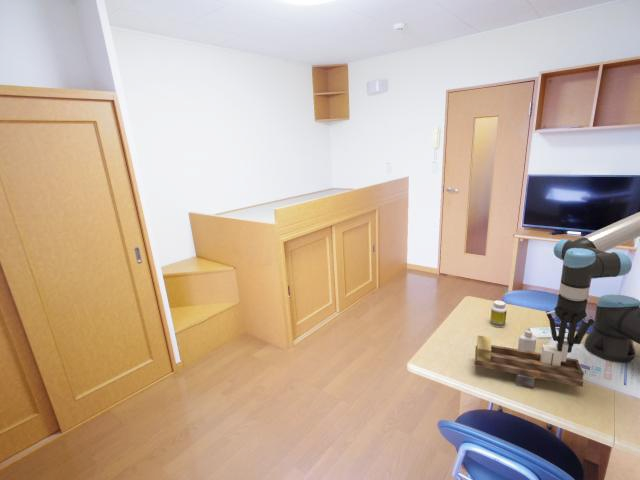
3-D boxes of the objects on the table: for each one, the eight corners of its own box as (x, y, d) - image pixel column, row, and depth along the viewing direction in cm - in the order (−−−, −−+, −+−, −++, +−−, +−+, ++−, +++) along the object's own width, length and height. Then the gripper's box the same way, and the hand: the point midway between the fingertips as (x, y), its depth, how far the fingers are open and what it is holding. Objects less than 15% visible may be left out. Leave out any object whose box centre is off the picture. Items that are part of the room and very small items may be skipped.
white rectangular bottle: (531, 360, 129) (534, 332, 126) (515, 353, 134) (518, 327, 130) (535, 355, 132) (539, 328, 129) (520, 349, 136) (523, 323, 133)
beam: (572, 376, 120) (577, 349, 117) (581, 399, 109) (587, 370, 106) (474, 357, 133) (476, 333, 130) (474, 376, 122) (476, 350, 119)
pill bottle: (506, 328, 151) (508, 306, 148) (491, 326, 153) (493, 305, 150) (503, 321, 157) (505, 300, 154) (488, 320, 159) (490, 299, 156)
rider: (556, 364, 117) (559, 346, 115) (559, 371, 113) (562, 353, 111) (540, 361, 119) (542, 344, 117) (541, 368, 115) (544, 350, 113)
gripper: (594, 293, 108) (582, 356, 114) (546, 288, 113) (538, 349, 120) (602, 304, 101) (589, 370, 108) (551, 298, 107) (541, 361, 113)
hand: (562, 359), depth 114 cm, fingers closed
